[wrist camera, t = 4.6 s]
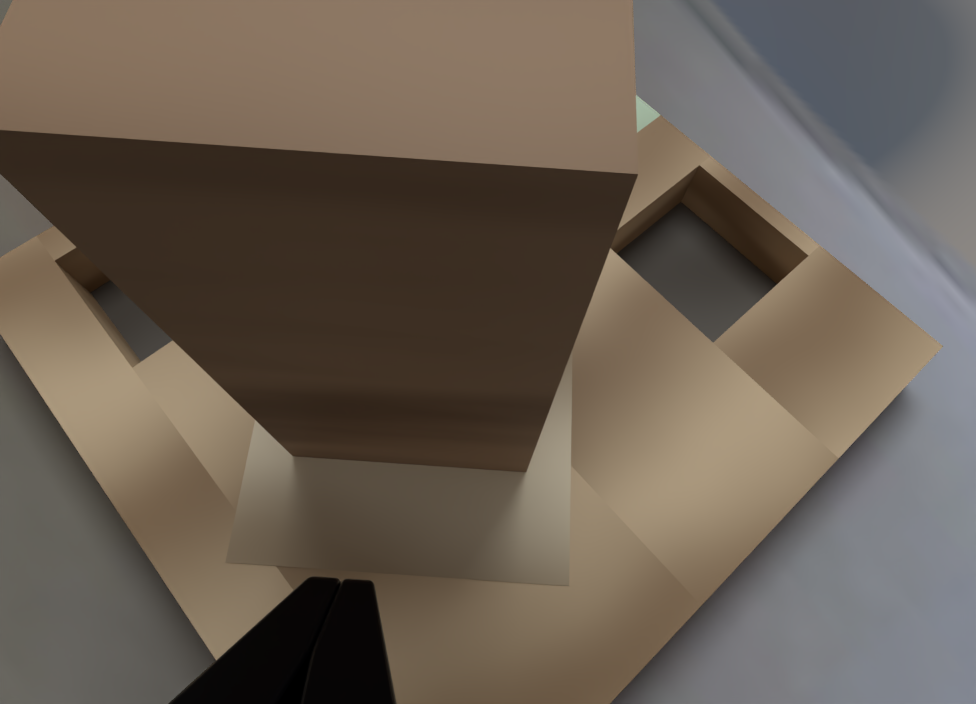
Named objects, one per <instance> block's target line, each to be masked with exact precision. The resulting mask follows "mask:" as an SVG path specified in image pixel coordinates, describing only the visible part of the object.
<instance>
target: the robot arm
mask: <svg viewBox="0 0 976 704" xmlns="http://www.w3.org/2000/svg"><path fill="white" fill-rule="evenodd" d="M169 704H397V702H396V697H395V692H394V686H393V681H392V676H391V670H390V665H389V660H388V654H387V649H386V644H385V638H384V633H383V628H382V622H381V617H380V612H379V606H378V601H377V596H376V590H375V585H374V583H373V582H372V581H371V580H361V579H344V580H343V581H342V582H341V581H340V580H339V579H338V578H332V577H318V576H312V577H309V578H307V579H306V580H304V581H303V582H302V583H301V584H300V585H299V586H298V587H297V588H296V589H294V590H293V591H292V592H291V593H290V594H289V595H288V596H287V597H286V598H284V599H283V600H282V601H281V602H280V603H279V604H278V605H277V606H276V607H275V608H273V609H272V610H271V611H270V612H269V613H268V614H267V615H266V616H265V617H264V618H262V619H261V620H260V621H259V622H258V623H257V624H256V625H255V626H254V627H252V628H251V629H250V630H249V631H248V632H247V633H246V634H245V635H244V636H243V637H241V638H240V639H239V640H238V641H237V642H236V643H235V644H234V645H233V646H232V647H230V648H229V649H228V650H227V651H226V652H225V653H224V654H223V655H222V656H220V657H219V658H218V659H217V660H216V661H215V662H214V663H213V664H212V665H211V666H209V667H208V668H207V669H206V670H205V671H204V672H203V673H202V674H201V675H200V676H198V677H197V678H196V679H195V680H194V681H193V682H192V683H191V684H190V685H188V686H187V687H186V688H185V689H184V690H183V691H182V692H181V693H180V694H179V695H177V696H176V697H175V698H174V699H173V700H172V701H171V702H170V703H169Z"/></svg>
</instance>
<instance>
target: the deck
mask: <svg viewBox="0 0 976 704" xmlns="http://www.w3.org/2000/svg"><path fill="white" fill-rule="evenodd" d="M636 117H637V148H638V176H637V179H636V182H635V184H634V187H633V190H632V192H631V195H630V198H629V200H628V203H627V206H626V208H625V211H624V214H623V216H622V219H621V222H620V224H619V227H618V230H617V232H616V235H615V238H614V240H613V243H612V245H611V248H610V251H609V253H608V256H607V259H606V261H605V264H604V267H603V269H602V272H601V275H600V277H599V280H598V283H597V285H596V288H595V291H594V293H593V296H592V299H591V301H590V304H589V307H588V309H587V312H586V315H585V317H584V320H583V323H582V325H581V328H580V331H579V333H578V336H577V339H576V341H575V344H574V347H573V349H572V352H571V355H570V357H569V360H568V363H567V365H566V368H565V371H564V373H563V376H562V378H561V381H560V384H559V386H558V389H557V392H556V394H555V397H554V400H553V402H552V405H551V408H550V410H549V413H548V416H547V418H546V421H545V424H544V426H543V429H542V432H541V434H540V437H539V440H538V442H537V445H536V448H535V450H534V453H533V456H532V458H531V461H530V464H529V466H528V469H527V472H513V471H499V470H484V469H470V468H455V467H441V466H426V465H412V464H397V463H383V462H368V461H354V460H339V459H325V458H310V457H295V456H292V455H291V454H290V453H289V452H288V451H287V450H286V449H285V448H284V447H283V446H282V445H281V444H280V443H278V442H277V441H276V440H275V439H274V438H273V437H272V436H271V435H270V434H269V433H268V432H267V431H266V430H265V429H264V428H263V427H262V426H261V425H260V424H259V423H258V422H257V421H256V420H255V419H254V418H253V417H252V416H251V415H250V414H248V413H247V412H246V411H245V410H244V409H243V408H242V407H241V406H240V405H239V404H238V403H237V402H236V401H235V400H234V399H233V398H232V397H231V396H230V395H229V394H228V393H227V392H226V391H225V390H224V389H223V388H222V387H221V386H220V385H218V384H217V383H216V382H215V381H214V380H213V379H212V378H211V377H210V376H209V375H208V374H207V373H206V372H205V371H204V370H203V369H202V368H201V367H200V366H199V365H198V364H197V363H196V362H195V361H194V360H193V359H192V358H191V357H190V356H188V355H187V354H186V353H185V352H184V351H183V350H182V349H181V348H180V347H179V346H178V345H177V344H176V343H175V342H174V341H173V340H172V339H171V338H170V337H169V336H168V335H167V334H166V333H165V332H164V331H163V330H162V329H161V328H160V327H158V326H157V325H156V324H155V323H154V322H153V321H152V320H151V319H150V318H149V317H148V316H147V315H146V314H145V313H144V312H143V311H142V310H141V309H140V308H139V307H138V306H137V305H136V304H135V303H134V302H133V301H132V300H131V299H130V298H128V297H127V296H126V295H125V294H124V293H123V292H122V291H121V290H120V289H119V288H118V287H117V286H116V285H115V284H114V283H113V282H112V281H111V280H110V279H109V278H108V277H107V276H106V275H105V274H104V273H103V272H102V271H101V270H100V269H98V268H97V267H96V266H95V265H94V264H93V263H92V262H91V261H90V260H89V259H88V258H87V257H86V256H85V255H84V254H83V253H82V252H81V251H80V250H79V249H78V248H77V247H76V246H75V245H74V244H73V243H72V242H71V241H70V240H68V239H67V238H66V237H65V236H64V235H63V234H62V233H61V232H60V231H59V230H58V229H57V228H56V227H55V226H53V227H51V228H49V229H48V230H46V231H44V232H42V233H41V234H39V235H37V236H36V237H34V238H32V239H31V240H29V241H27V242H25V243H24V244H22V245H20V246H19V247H17V248H15V249H14V250H12V251H10V252H8V253H7V254H5V255H3V256H2V257H0V334H1V336H2V337H3V339H4V340H5V342H6V343H7V345H8V346H9V348H10V349H11V351H12V352H13V354H14V355H15V357H16V358H17V360H18V361H19V363H20V364H21V366H22V367H23V369H24V370H25V372H26V373H27V375H28V376H29V378H30V379H31V381H32V382H33V384H34V385H35V387H36V389H37V390H38V392H39V393H40V395H41V396H42V398H43V399H44V401H45V402H46V404H47V405H48V407H49V408H50V410H51V411H52V413H53V414H54V416H55V417H56V419H57V420H58V422H59V423H60V425H61V426H62V428H63V429H64V431H65V432H66V434H67V435H68V437H69V438H70V440H71V441H72V443H73V445H74V446H75V448H76V449H77V451H78V452H79V454H80V455H81V457H82V458H83V460H84V461H85V463H86V464H87V466H88V467H89V469H90V470H91V472H92V473H93V475H94V476H95V478H96V479H97V481H98V482H99V484H100V485H101V487H102V488H103V490H104V491H105V493H106V494H107V496H108V497H109V499H110V501H111V502H112V504H113V505H114V507H115V508H116V510H117V511H118V513H119V514H120V516H121V517H122V519H123V520H124V522H125V523H126V525H127V526H128V528H129V529H130V531H131V532H132V534H133V535H134V537H135V538H136V540H137V541H138V543H139V544H140V546H141V547H142V549H143V550H144V552H145V553H146V555H147V556H148V558H149V560H150V561H151V563H152V564H153V566H154V567H155V569H156V570H157V572H158V573H159V575H160V576H161V578H162V579H163V581H164V582H165V584H166V585H167V587H168V588H169V590H170V591H171V593H172V594H173V596H174V597H175V599H176V600H177V602H178V603H179V605H180V606H181V608H182V609H183V611H184V612H185V614H186V616H187V617H188V619H189V620H190V622H191V623H192V625H193V626H194V628H195V629H196V631H197V632H198V634H199V635H200V637H201V638H202V640H203V641H204V643H205V644H206V646H207V647H208V649H209V650H210V652H211V653H212V655H213V656H214V658H215V659H216V660H217V659H218V658H219V657H220V656H222V655H223V654H224V653H225V652H226V651H227V650H228V649H229V648H230V647H232V646H233V645H234V644H235V643H236V642H237V641H238V640H239V639H240V638H241V637H243V636H244V635H245V634H246V633H247V632H248V631H249V630H250V629H251V628H252V627H254V626H255V625H256V624H257V623H258V622H259V621H260V620H261V619H262V618H264V617H265V616H266V615H267V614H268V613H269V612H270V611H271V610H272V609H273V608H275V607H276V606H277V605H278V604H279V603H280V602H281V601H282V600H283V599H284V598H286V597H287V596H288V595H289V594H290V593H291V592H292V591H293V590H294V589H296V588H297V587H298V586H299V585H300V584H301V583H302V582H303V581H304V580H306V579H307V578H309V577H312V576H318V577H332V578H338V579H339V580H340V581H341V582H342V581H343V580H344V579H361V580H371V581H372V582H373V583H374V585H375V590H376V596H377V601H378V606H379V612H380V617H381V622H382V628H383V633H384V638H385V644H386V649H387V654H388V660H389V665H390V670H391V676H392V681H393V686H394V692H395V697H396V702H397V704H610V703H611V702H612V701H613V700H614V699H615V698H616V697H617V696H618V694H619V693H620V692H621V691H622V690H623V689H624V688H625V687H626V686H627V685H628V684H629V683H630V682H631V681H632V679H633V678H634V677H635V676H636V675H637V674H638V673H639V672H640V671H641V670H642V669H643V668H644V667H645V665H646V664H647V663H648V662H649V661H650V660H651V659H652V658H653V657H654V656H655V655H656V654H657V653H658V652H659V650H660V649H661V648H662V647H663V646H664V645H665V644H666V643H667V642H668V641H669V640H670V639H671V638H672V637H673V635H674V634H675V633H676V632H677V631H678V630H679V629H680V628H681V627H682V626H683V625H684V624H685V623H686V622H687V620H688V619H689V618H690V617H691V616H692V615H693V614H694V613H695V612H696V611H697V610H698V609H699V608H700V607H701V605H702V604H703V603H704V602H705V601H706V600H707V599H708V598H709V597H710V596H711V595H712V594H713V593H714V591H715V590H716V589H717V588H718V587H719V586H720V585H721V584H722V583H723V582H724V581H725V580H726V579H727V578H728V576H729V575H730V574H731V573H732V572H733V571H734V570H735V569H736V568H737V567H738V566H739V565H740V564H741V563H742V561H743V560H744V559H745V558H746V557H747V556H748V555H749V554H750V553H751V552H752V551H753V550H754V549H755V548H756V546H757V545H758V544H759V543H760V542H761V541H762V540H763V539H764V538H765V537H766V536H767V535H768V534H769V532H770V531H771V530H772V529H773V528H774V527H775V526H776V525H777V524H778V523H779V522H780V521H781V520H782V519H783V517H784V516H785V515H786V514H787V513H788V512H789V511H790V510H791V509H792V508H793V507H794V506H795V505H796V504H797V502H798V501H799V500H800V499H801V498H802V497H803V496H804V495H805V494H806V493H807V492H808V491H809V490H810V489H811V487H812V486H813V485H814V484H815V483H816V482H817V481H818V480H819V479H820V478H821V477H822V476H823V475H824V473H825V472H826V471H827V470H828V469H829V468H830V467H831V466H832V465H833V464H834V463H835V462H836V461H837V460H838V458H839V457H840V456H841V455H842V454H843V453H844V452H845V451H846V450H847V449H848V448H849V447H850V446H851V445H852V443H853V442H854V441H855V440H856V439H857V438H858V437H859V436H860V435H861V434H862V433H863V432H864V431H865V430H866V428H867V427H868V426H869V425H870V424H871V423H872V422H873V421H874V420H875V419H876V418H877V417H878V416H879V414H880V413H881V412H882V411H883V410H884V409H885V408H886V407H887V406H888V405H889V404H890V403H891V402H892V401H893V399H894V398H895V397H896V396H897V395H898V394H899V393H900V392H901V391H902V390H903V389H904V388H905V387H906V386H907V384H908V383H909V382H910V381H911V380H912V379H913V378H914V377H915V376H916V375H917V374H918V373H919V372H920V371H921V369H922V368H923V367H924V366H925V365H926V364H927V363H928V362H929V361H930V360H931V359H932V358H933V357H934V356H935V354H936V353H937V352H938V351H939V350H940V349H941V348H942V347H943V346H942V345H941V344H940V343H938V342H937V341H936V340H935V339H934V338H932V337H931V336H930V335H929V334H927V333H926V332H925V331H924V330H923V329H921V328H920V327H919V326H918V325H916V324H915V323H914V322H913V321H912V320H910V319H909V318H908V317H907V316H905V315H904V314H903V313H902V312H901V311H899V310H898V309H897V308H896V307H894V306H893V305H892V304H891V303H890V302H888V301H887V300H886V299H885V298H883V297H882V296H881V295H880V294H879V293H877V292H876V291H875V290H874V289H872V288H871V287H870V286H869V285H868V284H866V283H865V282H864V281H863V280H861V279H860V278H859V277H858V276H857V275H855V274H854V273H853V272H852V271H850V270H849V269H848V268H847V267H846V266H844V265H843V264H842V263H841V262H839V261H838V260H837V259H836V258H835V257H833V256H832V255H831V254H830V253H828V252H827V251H826V250H825V249H824V248H822V247H821V246H820V245H819V244H817V243H816V242H815V241H814V240H813V239H811V238H810V237H809V236H808V235H806V234H805V233H804V232H803V231H802V230H800V229H799V228H798V227H797V226H795V225H794V224H793V223H792V222H791V221H789V220H788V219H787V218H786V217H784V216H783V215H782V214H781V213H780V212H778V211H777V210H776V209H775V208H773V207H772V206H771V205H770V204H769V203H767V202H766V201H765V200H764V199H762V198H761V197H760V196H759V195H758V194H756V193H755V192H754V191H753V190H751V189H750V188H749V187H748V186H747V185H745V184H744V183H743V182H742V181H740V180H739V179H738V178H737V177H736V176H734V175H733V174H732V173H731V172H729V171H728V170H727V169H726V168H725V167H723V166H722V165H721V164H720V163H718V162H717V161H716V160H715V159H714V158H712V157H711V156H710V155H709V154H707V153H706V152H705V151H704V150H703V149H701V148H700V147H699V146H698V145H696V144H695V143H694V142H693V141H692V140H690V139H689V138H688V137H687V136H685V135H684V134H683V133H682V132H681V131H679V130H678V129H677V128H676V127H674V126H673V125H672V124H671V123H670V122H668V121H667V120H666V119H665V118H663V117H662V116H661V115H660V114H659V113H657V112H656V111H655V110H654V109H652V108H651V107H650V106H649V105H648V104H646V103H645V102H644V101H643V100H641V99H640V98H639V97H638V96H637V95H636Z"/></svg>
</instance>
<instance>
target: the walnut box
mask: <svg viewBox="0 0 976 704" xmlns="http://www.w3.org/2000/svg"><path fill="white" fill-rule="evenodd" d="M0 174H1V175H2V176H3V177H4V178H5V179H6V180H7V181H8V182H10V183H11V184H12V185H13V186H14V187H15V188H16V189H17V190H18V191H19V192H20V193H21V194H22V195H23V196H24V197H25V198H26V199H27V200H28V201H29V202H30V203H31V204H32V205H33V206H34V207H35V208H36V209H37V210H38V211H40V212H41V213H42V214H43V215H44V216H45V217H46V218H47V219H48V220H49V221H50V222H51V223H52V224H53V225H54V226H55V227H56V228H57V229H58V230H59V231H60V232H61V233H62V234H63V235H64V236H65V237H66V238H67V239H68V240H70V241H71V242H72V243H73V244H74V245H75V246H76V247H77V248H78V249H79V250H80V251H81V252H82V253H83V254H84V255H85V256H86V257H87V258H88V259H89V260H90V261H91V262H92V263H93V264H94V265H95V266H96V267H97V268H98V269H100V270H101V271H102V272H103V273H104V274H105V275H106V276H107V277H108V278H109V279H110V280H111V281H112V282H113V283H114V284H115V285H116V286H117V287H118V288H119V289H120V290H121V291H122V292H123V293H124V294H125V295H126V296H127V297H128V298H130V299H131V300H132V301H133V302H134V303H135V304H136V305H137V306H138V307H139V308H140V309H141V310H142V311H143V312H144V313H145V314H146V315H147V316H148V317H149V318H150V319H151V320H152V321H153V322H154V323H155V324H156V325H157V326H158V327H160V328H161V329H162V330H163V331H164V332H165V333H166V334H167V335H168V336H169V337H170V338H171V339H172V340H173V341H174V342H175V343H176V344H177V345H178V346H179V347H180V348H181V349H182V350H183V351H184V352H185V353H186V354H187V355H188V356H190V357H191V358H192V359H193V360H194V361H195V362H196V363H197V364H198V365H199V366H200V367H201V368H202V369H203V370H204V371H205V372H206V373H207V374H208V375H209V376H210V377H211V378H212V379H213V380H214V381H215V382H216V383H217V384H218V385H220V386H221V387H222V388H223V389H224V390H225V391H226V392H227V393H228V394H229V395H230V396H231V397H232V398H233V399H234V400H235V401H236V402H237V403H238V404H239V405H240V406H241V407H242V408H243V409H244V410H245V411H246V412H247V413H248V414H250V415H251V416H252V417H253V418H254V419H255V420H256V421H257V422H258V423H259V424H260V425H261V426H262V427H263V428H264V429H265V430H266V431H267V432H268V433H269V434H270V435H271V436H272V437H273V438H274V439H275V440H276V441H277V442H278V443H280V444H281V445H282V446H283V447H284V448H285V449H286V450H287V451H288V452H289V453H290V454H291V455H292V456H295V457H310V458H325V459H339V460H354V461H368V462H383V463H397V464H412V465H426V466H441V467H455V468H470V469H484V470H499V471H513V472H527V469H528V466H529V464H530V461H531V458H532V456H533V453H534V450H535V448H536V445H537V442H538V440H539V437H540V434H541V432H542V429H543V426H544V424H545V421H546V418H547V416H548V413H549V410H550V408H551V405H552V402H553V400H554V397H555V394H556V392H557V389H558V386H559V384H560V381H561V378H562V376H563V373H564V371H565V368H566V365H567V363H568V360H569V357H570V355H571V352H572V349H573V347H574V344H575V341H576V339H577V336H578V333H579V331H580V328H581V325H582V323H583V320H584V317H585V315H586V312H587V309H588V307H589V304H590V301H591V299H592V296H593V293H594V291H595V288H596V285H597V283H598V280H599V277H600V275H601V272H602V269H603V267H604V264H605V261H606V259H607V256H608V253H609V251H610V248H611V245H612V243H613V240H614V238H615V235H616V232H617V230H618V227H619V224H620V222H621V219H622V216H623V214H624V211H625V208H626V206H627V203H628V200H629V198H630V195H631V192H632V190H633V187H634V184H635V182H636V179H637V176H638V148H637V117H636V86H635V54H634V23H633V0H13V1H12V3H11V5H10V7H9V9H8V11H7V13H6V15H5V17H4V20H3V22H2V24H1V26H0Z"/></svg>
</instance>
